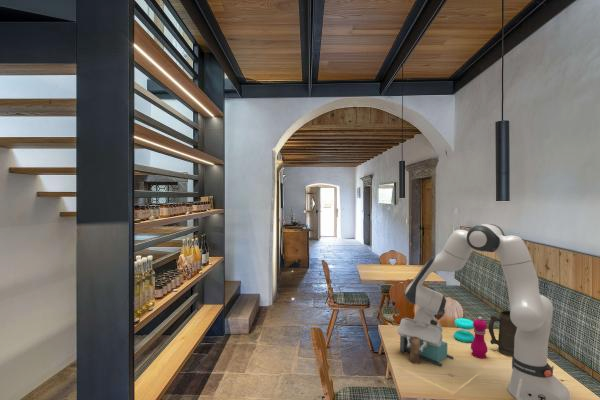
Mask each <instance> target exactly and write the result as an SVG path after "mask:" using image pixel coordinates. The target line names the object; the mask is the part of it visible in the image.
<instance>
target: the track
mask: <svg viewBox="0 0 600 400" xmlns="http://www.w3.org/2000/svg"><path fill="white" fill-rule="evenodd" d="M399 336H400V335H399ZM399 338H400V339H399V341H400V342H399V343H400V344H399V352H400V353H402V354H405V353H408V354H411V348H408V347H407V345H408V340H407V338H406V337H403V336H400V337H399ZM410 343H411V341H410ZM447 358H448V359H451V360H454V356H453V355H450V354H448V353H447ZM419 359H422V360H424V361H426V362H429V363H432V364H434V365H436V366H439V367H443V363H441V362H436V361H434V360H432V359H429V358H427V357H424V356H422V355H420V358H419Z"/></svg>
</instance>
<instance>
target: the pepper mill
mask: <svg viewBox="0 0 600 400" xmlns="http://www.w3.org/2000/svg"><path fill="white" fill-rule="evenodd" d="M473 327H474V328H473V332H474V340H473V341H472V342H471V344H470V350H471V355H472V356H473V357H474V358H477V359H486V358H487V353H488V345H487V344H486V341H485V335H486V330H487V329H488V324H487V321H485V320H484V319H483V317H482V316H477V318H476V319H474V321H473Z"/></svg>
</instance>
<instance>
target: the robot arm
mask: <svg viewBox="0 0 600 400" xmlns="http://www.w3.org/2000/svg"><path fill="white" fill-rule="evenodd" d="M526 245H527V244H525V242H524V240H523V239H522V238H521V237H520V236H517V235H513V234H512V235H511V234H509V235H505V233H504V231H503V229H502V228H501V227H499V226H498V225H496V224H493V223H482V224H478V225H474V226H473V227H471V228H470V229H469V230H465V229H456V230H454V231H453V232H452V233H451V235H450V236H449V237H448V239H447V240H446V243H444V246H443V247H442V250H441V251H440V252H439V253H438V254H436V255H431V256H430V257H429V258H428V259H427V260H426V262H425V263H424V264H423V266H422V267H421V268H420V270H419V271H418V273H417V274H416V276H415V277H414V279H412V281H411V282H410V283H409V284H408V285H407V287H406V288H405V292H404V296H405V299H406V301H407V302H408V303H410V304H411V305H416V306H417V310H416V311H415V315H414V317H413V318H408V317H403V318H401V320H400V323H399V325H398V327H397V330H396V331H397V334H398V335H399V336H403V337H406V338H407V340H408V345H407V347H408V348H411V343H410V341H411V337H418V338H420V342H423V345H422V346H419V351H421V352H423V349H424V348H425V347H426V346H427V344H430V345H433V346H436V347H439V346H441V343H442V341H443V334H442V333H443V326H442V324H441V323H440V322H439V321H436V319H435V316H437V315H440V314H442V313H443V312H444V311H445V307H446V304H447V299H446V297H445V295H444V294H443V293H441V292H438V291H436V290H434V289H432V288H429V287H427V286H425V285H423V283H424V282H425V281H426V280H427V278H428V277H429V276H430V274H432V273H434V272H448V273H451V272H453V273H455V272H459V271H461V270H462V269H463V268H464V267H465V266H466V263H467V262H468V260H469V258H470V256H471V253H472V251H474V250H475V251H479V252H487V253H495V254H497V256H498V259H499V262H500V263H499V264H500V266H501V268H502V269H501V270H502V271H503V272H502V273H503V276H504V278H505V282H506V286H507V292H508V293H507V294H508V301H509V309H510V310H509V311H510V319H511V321H512V323H513V324H514V325H515V326H516V327H517V330H516V334H515V339H514V355H513V357H511V368H512V370H511V377H510V381H509V383H508V387H507V390H508V392H509V394H510V395H511V396H512V397H514V398H515V400H572V398H571V394H570V390H569V388H568V387H567V386H566V385H564V384H563V383H562V382H561V381H560V380H559V379H558V378H557V377H556V376H555V375H554V369H555V368H554V365H552V366H551V365H550V364H549V362H548V350H549V349H548V348H549V338H550V334H551V329H552V328H551V327H552V322H553V315H554V313H553V312H554V305H553V303H552V301H551V300H550V299H549V298H548V297H547V296H545V295H543V294H540V288H539V287H540V286H539V277H538V274H537V271H536V268H535V265H534V263H533V259H532V257H531V254H530V252H529V250H528V247H527V246H526Z"/></svg>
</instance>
